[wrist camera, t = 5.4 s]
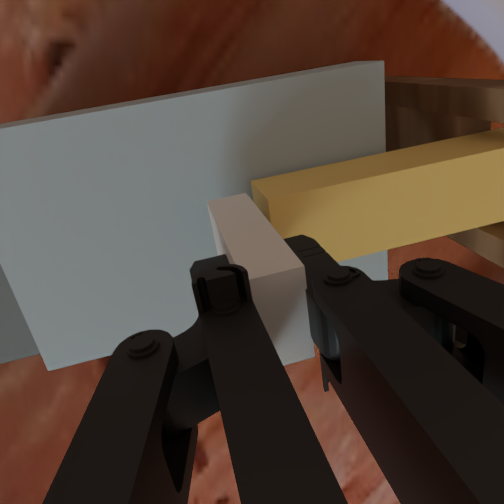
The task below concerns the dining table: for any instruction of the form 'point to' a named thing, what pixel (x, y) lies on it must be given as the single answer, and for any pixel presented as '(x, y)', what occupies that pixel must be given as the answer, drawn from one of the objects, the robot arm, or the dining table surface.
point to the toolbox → (446, 130)
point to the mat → (13, 326)
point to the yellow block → (390, 196)
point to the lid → (159, 195)
